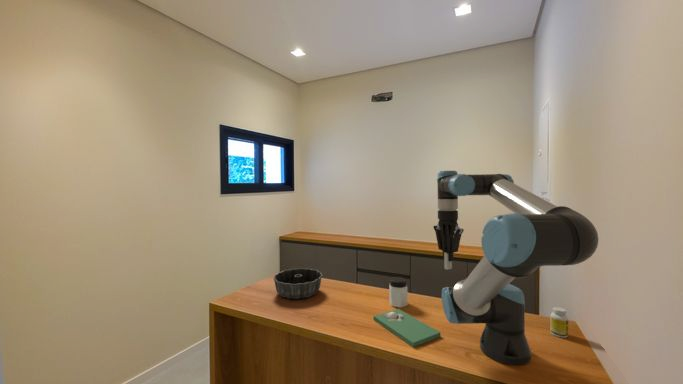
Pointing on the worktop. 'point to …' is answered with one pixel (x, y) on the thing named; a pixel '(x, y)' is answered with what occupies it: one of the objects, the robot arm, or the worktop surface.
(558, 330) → the supplement bottle
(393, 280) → the jar
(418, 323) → the mat
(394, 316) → the ball
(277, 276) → the bundt pan
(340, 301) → the worktop surface
